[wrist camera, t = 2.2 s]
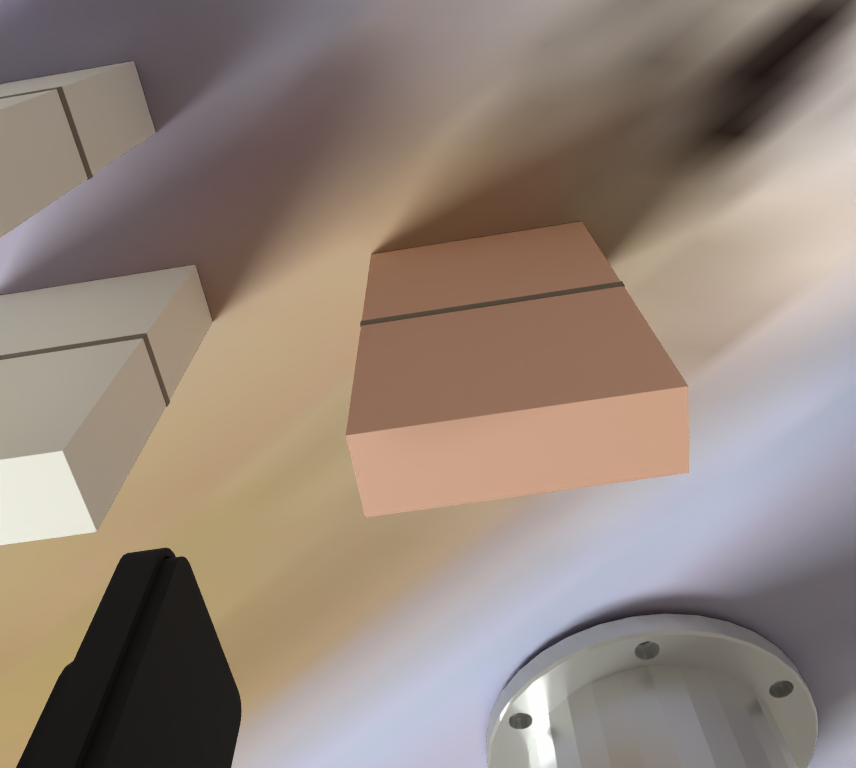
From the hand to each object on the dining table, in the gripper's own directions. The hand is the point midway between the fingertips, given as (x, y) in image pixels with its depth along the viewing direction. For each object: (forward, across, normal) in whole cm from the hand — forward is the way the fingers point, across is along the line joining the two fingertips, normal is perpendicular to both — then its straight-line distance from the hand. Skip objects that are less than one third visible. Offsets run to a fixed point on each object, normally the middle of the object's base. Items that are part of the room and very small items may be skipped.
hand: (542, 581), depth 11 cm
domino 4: (+14, +11, 0) cm, 18 cm away
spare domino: (+14, 0, +1) cm, 14 cm away
